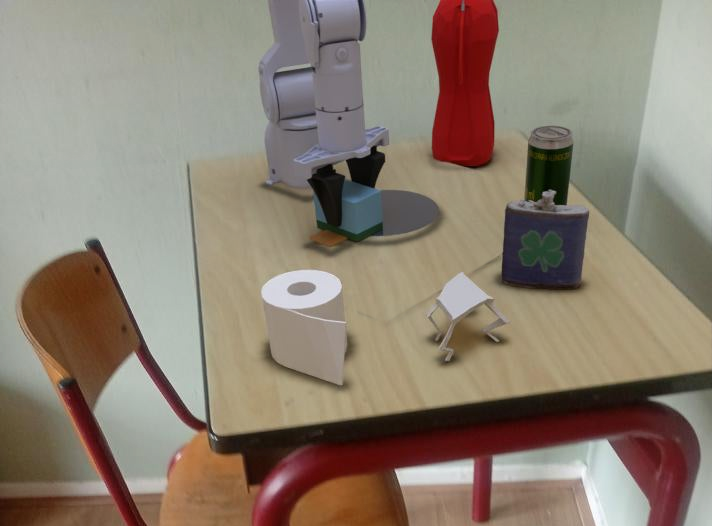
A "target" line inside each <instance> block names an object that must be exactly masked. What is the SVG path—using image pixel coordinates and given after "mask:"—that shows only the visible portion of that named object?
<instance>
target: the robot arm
mask: <svg viewBox="0 0 712 526" xmlns="http://www.w3.org/2000/svg"><path fill="white" fill-rule="evenodd" d="M267 5H268V10H269V17H270V22H271V23H270V24H271V28H272V35H273V41H274V42H273V44H272V45H271V47H270V48H268V50H267V51H266V52H265V53H264V55H263V56H262V57H261V59H260V61H259V62H258V67H257V69H258V76H259V93H260V99H261V104H262V108H263V111H264V115H265V117H266V119H267V120H268V123H267V125H266V127H265V130H264V138H263V139H264V147H265V149H264V150H265V154H266V155H265V156H266V162H267V169H268V175H269V179H267V180H265V184H266V186H272V185H273V184H276V183H278V182H281V183H284V184H285V185H286V186H288V187H289V188H295V189H301V190H302V189H303V190H304V189H305V190H306V189H312V192H313V191H314V192H315V194H316V196H317V198H318V200H319V202H320V205H321V207H322V210H323V213H324V216H325V218H326V221H327V224H330V225H332V226H335V227H339V226H341V223H342V190H343V184H344V180H345V179H346V175H344V174H342V173H338V172H337V171H336V169H335V168H334V166H337V165H338V164H340V163H343V162H346V166H347V169H348V172H349V176H350V177H349V178H350V181H352V182H355V183H358V184H362V185H365V186H368V187H371V188H374V189H376V184H377V181H378V178H379V176H380V173H381V171H382V169H383V166H384V165H385V163H386V154H385V152H382V151H379V150H378V147H386V146H389V145H390V129H389V128H388V127H383V126H379V125H376V126H373V127H370V128H367V129H366V123H365V121H366V120H365V107H364V91H363V90H364V89H363V75H362V74H363V73H362V59H361V58H362V56H361V44H360V43H359V42H363V41H364V40H365V38H366V35H367V11H366V4H365V0H267ZM307 64H310V66H307V67H302V68H295V69H289V70H282V71H278V70H280V69H282V68H288V67H295V66H301V65H307Z"/></svg>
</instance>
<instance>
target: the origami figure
mask: <svg viewBox="0 0 712 526" xmlns="http://www.w3.org/2000/svg"><path fill="white" fill-rule="evenodd" d="M464 272H465V271H460V272H459V273H458V274H456V275H455V276H454V277H453V278H451V279H450V280H449V281H448V282H447V283H446V284H445V285H444V287H443V288H442V290H441V292H440V294H439V296H437V297H436V298H435V303H434V305H433V306H432V307H431V308H430V310H429V311H428V312H427V313H426V317H427V318H428V320H429V321H430V322H431V324H432V325H433V327H434V328H435V329H436V330H437V332H438V334H437V335H436V337H435V339H434V340H435V342H438V341H439V340H440V338H441V335H442V331H441V329H440V328H439V327H438V325H437V323H436V322H435V320H434V318H433V317H432V315H433V314H434V312H435V311H436V310H437V309H438V308H439V309H441V310H440V311H442V312H443V314H444V315H445V316H446V317H447V319H448V320H449V322H450V326H449V328H448V330H447V332H446V334H445V336H444V337H443V340H442V341H441V343H440V345H439V347H438V351H442V352H448V354H447V355H446V357H445V360H444V361H445V362H449V361H450V360H451V358H452V356H453V355H454V352H455V351H454V349H452V348H447V345H448V343H449V341H450V339H451V336H452V335H453V334H452V333H453V331H454V328H455V326H456V324H457V323H459V322H460V321H461V320H463V319H464V318H465V317H467V316H468V315H469V314H472V312H473V311H475V310H477V309H479V308H480V307H482V306H483V305H484V306H485V307H487V308H488V309H489V310H490V311H491V312H493V314H494V315H496V316H497V317H498V319H496V320H494V321H493V322H491V323H489V324H488V325H486V326H484V327H482V328H481V330H482V331H483V332H484V333H485V334H486V335H488V336H489V337H490V338H491V339H493V340H494V341H495V342H496V343H497V342H500V339H498V338H497V336H494V334H492V333H491V332H490V331H492V330H494V329H496V328H499V327H502V326H504V325H505V326H506V325H508V324H511V321H509V319H508V318H507V317H506V316H505V315H504V314H503V312H501V311H500V310H499V309H498V307H496V306H495V305H494V304H493V303H494V301H495V298H493V297H492V296H490V295H488V294H487V293H486V292H485V291H483V290H482V289H481V288H480V287H479V286H478V285H477V284H476V283H474V281H472V280H471V279H470V278H469V277H468V276H467V275H465V274H464Z"/></svg>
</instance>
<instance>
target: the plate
mask: <svg viewBox="0 0 712 526" xmlns="http://www.w3.org/2000/svg"><path fill="white" fill-rule="evenodd" d="M379 190H380V191H381V198H382V217H383V229H382V230H380V231H378V232H376V233H374V234H372V235H370V236H369V237H390V236H391V237H392V236H398V235H403V234H408V233H412V232H415V231H418V230H420V229H422V228H425V227H427V226H429V225H430V224H431V223H433V222H434V221H435V220H436V219H437V218H438V216H439V213H440V207H439V205H438V204H437V203H436V202H435V201H434V199H432V198H430V197H428V196H427V195H425V194H421V193H418V192H413V191H409V190H401V189H379Z"/></svg>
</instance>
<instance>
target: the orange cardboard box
mask: <svg viewBox="0 0 712 526" xmlns="http://www.w3.org/2000/svg"><path fill="white" fill-rule="evenodd" d="M308 239H309V240H311V241H313V242H315V243H318V244H321V245H324V246H327V247H329V248H332V247H334V246H337V245H339V244H341V243H342V242H344V241H347V240H348V238H347V237H345V236H342V235H340V234H337V233H334V232H332V231H329V230H324V229H323V230H322V231H319V232H317V233H315V234H313V235H311V236H309V238H308Z"/></svg>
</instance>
